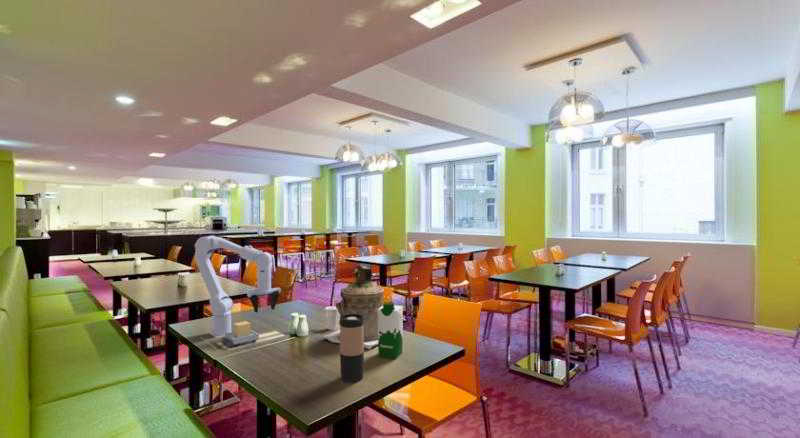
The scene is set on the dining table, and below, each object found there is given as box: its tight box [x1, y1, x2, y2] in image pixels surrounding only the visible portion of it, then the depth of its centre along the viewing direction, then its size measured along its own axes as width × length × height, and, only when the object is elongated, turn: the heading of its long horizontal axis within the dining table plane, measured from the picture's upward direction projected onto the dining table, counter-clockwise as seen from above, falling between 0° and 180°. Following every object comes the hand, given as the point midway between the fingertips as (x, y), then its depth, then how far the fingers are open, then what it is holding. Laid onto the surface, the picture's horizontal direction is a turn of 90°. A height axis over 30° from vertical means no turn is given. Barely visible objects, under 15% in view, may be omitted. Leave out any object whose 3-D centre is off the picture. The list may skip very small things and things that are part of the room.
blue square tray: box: [224, 328, 259, 347], centre depth 162 cm, size 10×10×3 cm
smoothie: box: [324, 298, 339, 331], centre depth 181 cm, size 6×6×14 cm
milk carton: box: [377, 301, 404, 360], centre depth 148 cm, size 9×9×20 cm
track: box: [216, 329, 288, 352], centre depth 165 cm, size 13×25×2 cm, turn 133°
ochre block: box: [232, 320, 251, 338], centre depth 162 cm, size 5×5×5 cm
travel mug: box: [339, 314, 365, 384], centre depth 127 cm, size 8×8×20 cm
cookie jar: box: [322, 264, 385, 351], centre depth 168 cm, size 25×25×32 cm
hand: (264, 310), depth 174 cm, fingers open, 7 cm apart
